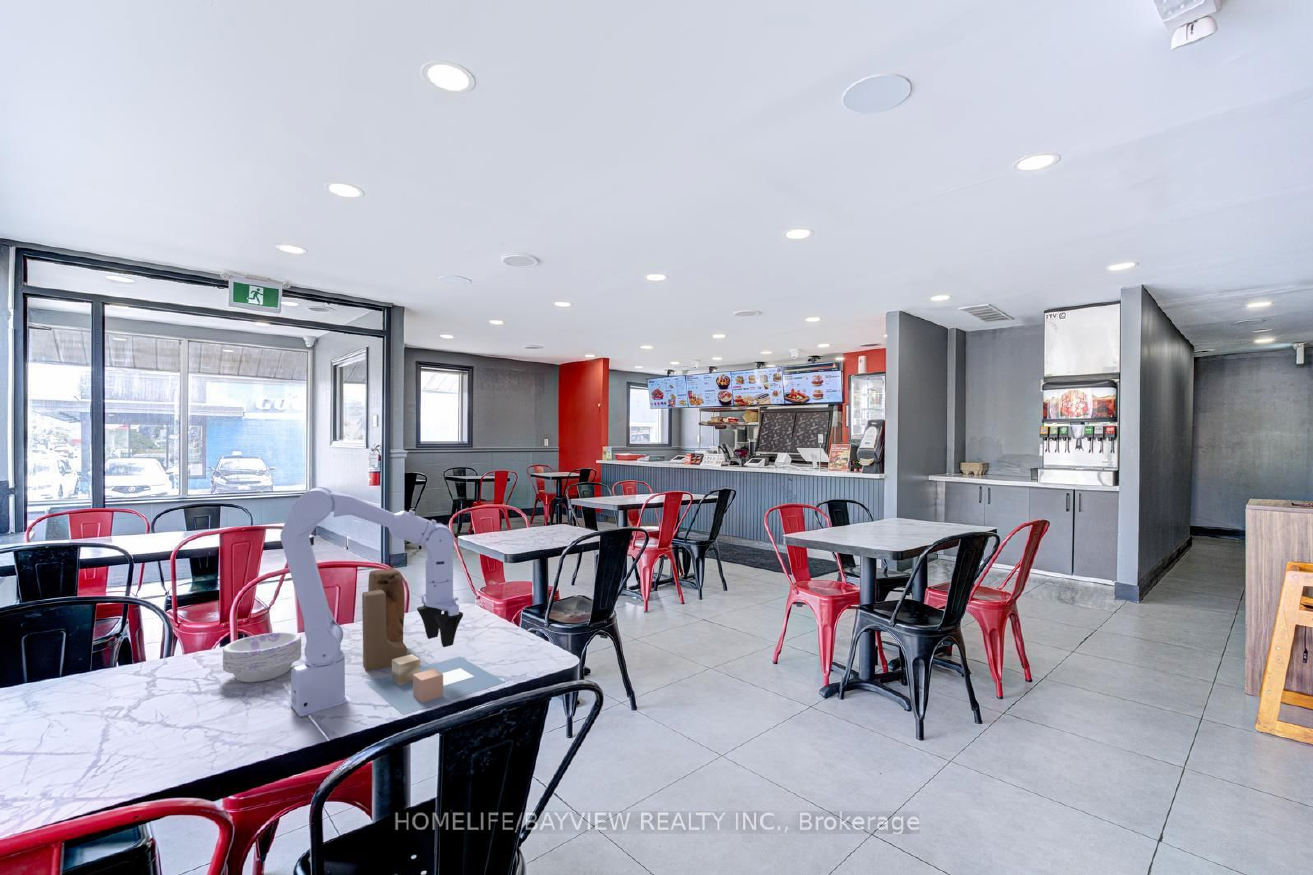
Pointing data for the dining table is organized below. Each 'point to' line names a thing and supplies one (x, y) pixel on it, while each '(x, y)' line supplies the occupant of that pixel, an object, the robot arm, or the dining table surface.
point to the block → (391, 600)
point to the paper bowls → (262, 656)
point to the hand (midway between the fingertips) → (440, 641)
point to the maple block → (405, 669)
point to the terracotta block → (427, 685)
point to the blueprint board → (456, 683)
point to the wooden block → (377, 633)
